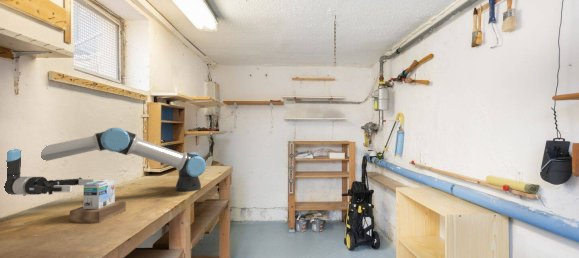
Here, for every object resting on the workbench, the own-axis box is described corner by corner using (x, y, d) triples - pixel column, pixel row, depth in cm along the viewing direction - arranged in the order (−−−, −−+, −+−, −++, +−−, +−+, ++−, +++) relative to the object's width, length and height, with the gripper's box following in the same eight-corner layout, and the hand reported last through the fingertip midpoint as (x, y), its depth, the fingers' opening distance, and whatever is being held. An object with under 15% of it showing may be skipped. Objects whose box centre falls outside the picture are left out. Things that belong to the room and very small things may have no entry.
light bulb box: (98, 209, 109) (98, 183, 109) (82, 209, 108) (82, 183, 108) (115, 202, 119) (115, 178, 119) (100, 202, 119) (100, 178, 119)
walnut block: (125, 212, 121) (125, 201, 121) (99, 224, 106) (99, 211, 106) (99, 211, 122) (99, 200, 122) (69, 223, 107) (69, 210, 107)
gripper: (55, 187, 124) (102, 187, 126) (1, 202, 100) (59, 201, 101) (56, 172, 125) (102, 172, 126) (1, 182, 100) (59, 182, 101)
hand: (83, 185), depth 113 cm, fingers open, 13 cm apart
